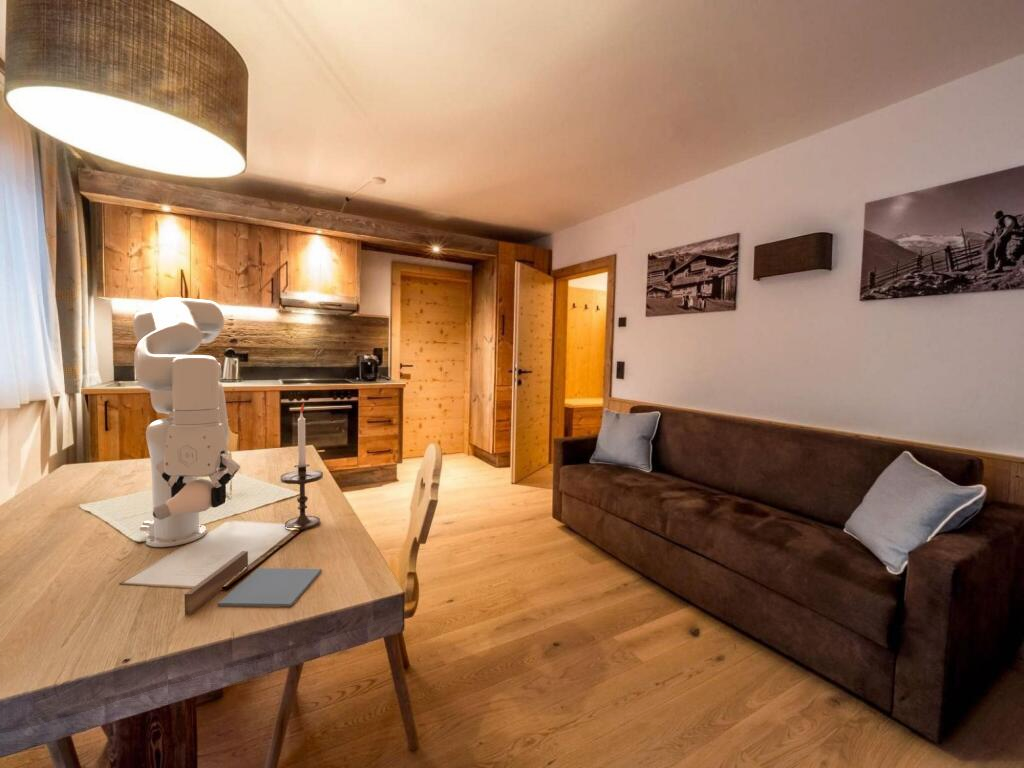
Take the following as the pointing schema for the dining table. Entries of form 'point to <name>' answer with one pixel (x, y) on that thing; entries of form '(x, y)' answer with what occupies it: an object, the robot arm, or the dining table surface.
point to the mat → (271, 587)
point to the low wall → (214, 583)
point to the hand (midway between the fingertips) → (199, 504)
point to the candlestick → (302, 481)
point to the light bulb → (187, 500)
